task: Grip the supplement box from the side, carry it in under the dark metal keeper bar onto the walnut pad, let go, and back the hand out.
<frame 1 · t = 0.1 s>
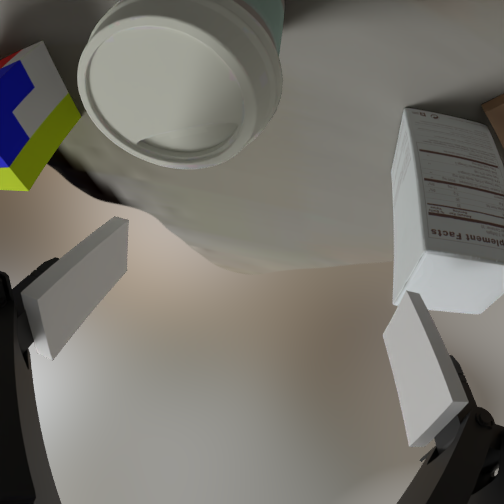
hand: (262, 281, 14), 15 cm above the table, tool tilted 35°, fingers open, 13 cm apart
supplement box: (437, 145, 22), on the table
coffee cup: (241, 4, 16), on the table
puzzle toy: (34, 86, 25), on the table
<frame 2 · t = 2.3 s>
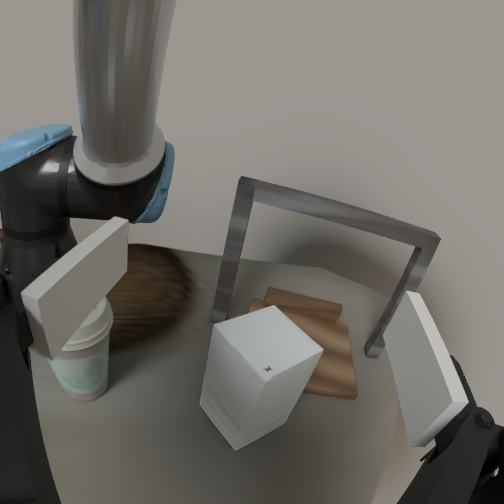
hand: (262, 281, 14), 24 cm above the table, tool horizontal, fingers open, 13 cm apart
supplement box: (241, 415, 33), on the table
keeper arch: (297, 347, 45), on the table
coffee cup: (84, 382, 31), on the table
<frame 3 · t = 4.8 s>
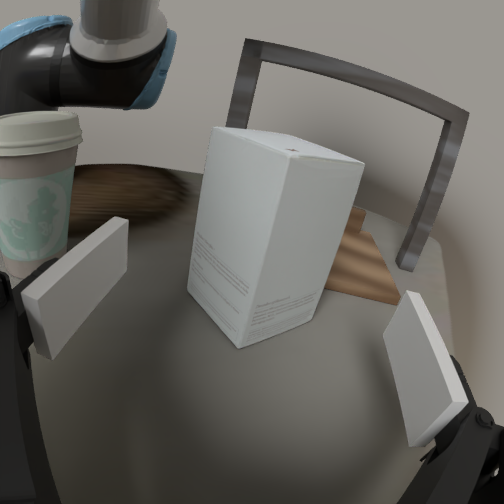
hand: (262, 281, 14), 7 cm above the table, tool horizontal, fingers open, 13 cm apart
supplement box: (247, 308, 25), on the table
keeper arch: (317, 249, 37), on the table
coffee cup: (36, 262, 23), on the table
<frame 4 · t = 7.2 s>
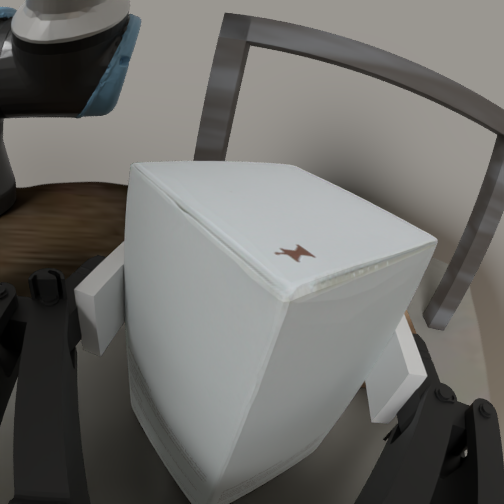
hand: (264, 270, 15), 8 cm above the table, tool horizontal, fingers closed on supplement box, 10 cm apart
supplement box: (221, 434, 15), on the table, touching gripper
keeper arch: (325, 311, 27), on the table
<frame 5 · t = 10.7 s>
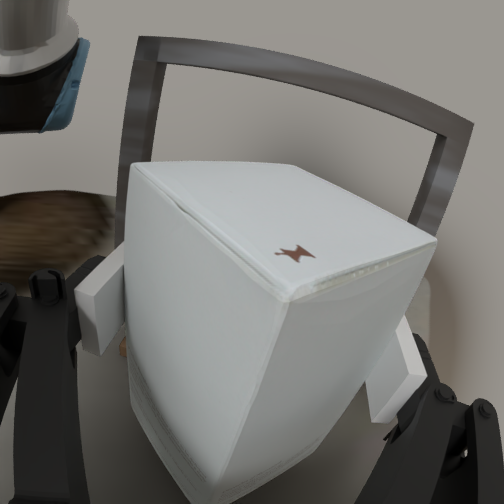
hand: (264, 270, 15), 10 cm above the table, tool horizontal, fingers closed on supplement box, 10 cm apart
supplement box: (221, 435, 15), point 2 cm above the table, touching gripper
keeper arch: (246, 318, 28), on the table
when the fingers open (10 cm above the table, at t = 14.4 s): supplement box drops 1 cm, resting on keeper arch.
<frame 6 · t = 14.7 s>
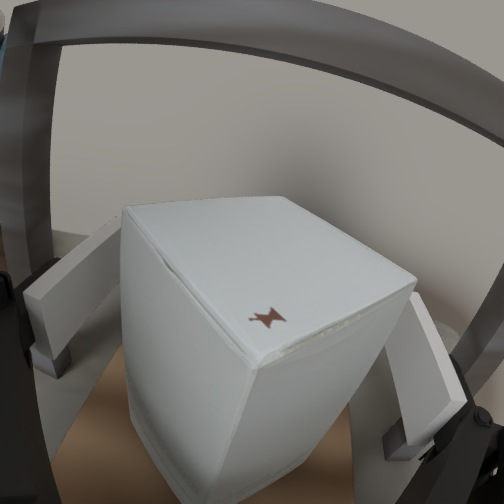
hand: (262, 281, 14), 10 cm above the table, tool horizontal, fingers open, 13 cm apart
supplement box: (215, 446, 15), point 1 cm above the table, touching keeper arch
keeper arch: (216, 451, 16), on the table
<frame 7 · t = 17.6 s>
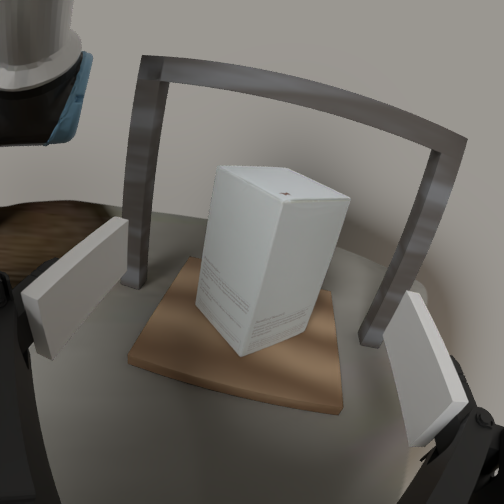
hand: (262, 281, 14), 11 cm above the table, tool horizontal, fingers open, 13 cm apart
supplement box: (248, 320, 28), point 1 cm above the table, touching keeper arch
keeper arch: (248, 327, 29), on the table
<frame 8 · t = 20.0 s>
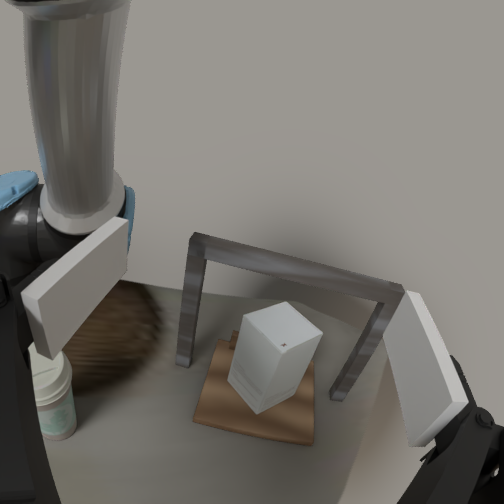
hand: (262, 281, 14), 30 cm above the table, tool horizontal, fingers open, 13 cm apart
supplement box: (260, 388, 44), point 1 cm above the table, touching keeper arch
keeper arch: (259, 391, 44), on the table
coffee cup: (56, 422, 31), on the table
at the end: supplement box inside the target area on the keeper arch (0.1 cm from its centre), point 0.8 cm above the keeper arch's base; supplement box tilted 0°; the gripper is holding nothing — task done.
